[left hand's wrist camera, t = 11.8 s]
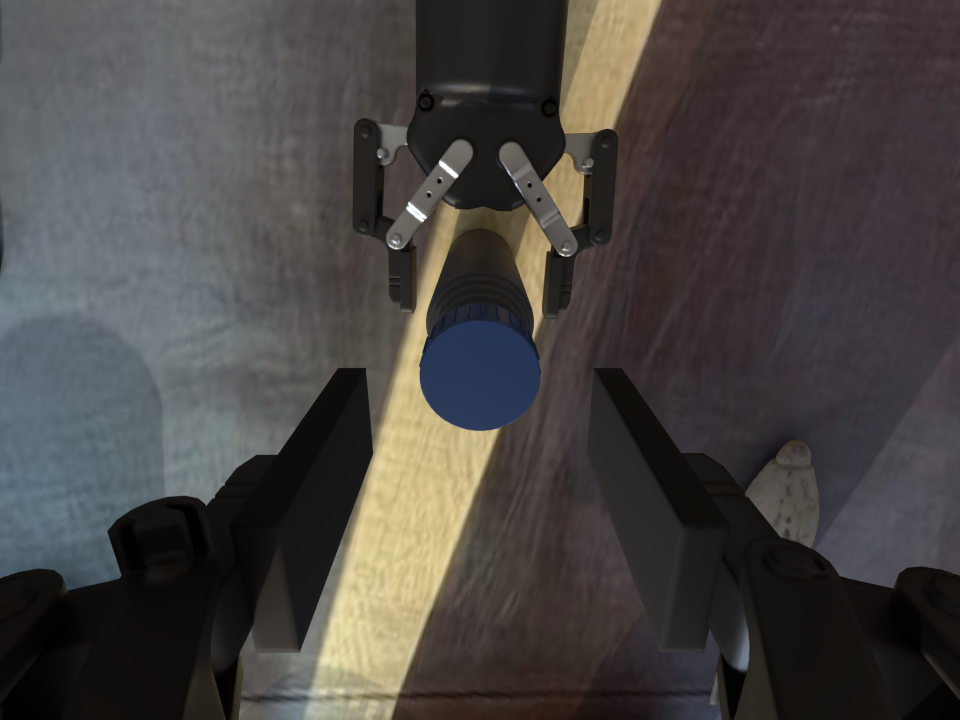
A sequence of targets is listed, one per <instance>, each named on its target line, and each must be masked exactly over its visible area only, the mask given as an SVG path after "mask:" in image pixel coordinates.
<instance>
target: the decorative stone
mask: <svg viewBox="0 0 960 720" xmlns="http://www.w3.org/2000/svg"><path fill="white" fill-rule="evenodd" d="M811 459H812V458H811V452H810V449H809V447H808V446H807V445H806V444H805V443H804V442H802V441H800V440H790V441H788V442H787V443H786V444H785V445H784V446H783V447H782V448H781V450H780V451H779V452H778V454H777V456H776V458H774V459H771V460H770V461H769V462H768V463H767V464H766V465H765V467H764V468H763V469H762V470H761V471H760V472H759V474H758V475H757V477H756V478H755V479H754V480H753V481H752V482H751V484H750V486H749V487H748V489H747V490H746V492H745V496H746V497H749V499H750V500H751V501H752V502H753V504H754V505H755V506H756V507H757V509H758V510H759V511H760V512H761V513H762V515H763V516H764V517H765V518H766V520H767V521H768V522H769V523H770V525H771V526H772V527H773V528H774V530H775V531H776V532H777V533H778V535H779V536H780V537H782V538H785V539H789V540H792V541H795V542H799V543H801V544H803V545H805V546H807V547H809V548H811V547H812V544H813V542H814V539H815V536H816V531H817V527H818V520H819V509H820V505H819V493H818V488H817V482H816V477H815V471H814V467H813V466H812V464H811Z"/></svg>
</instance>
